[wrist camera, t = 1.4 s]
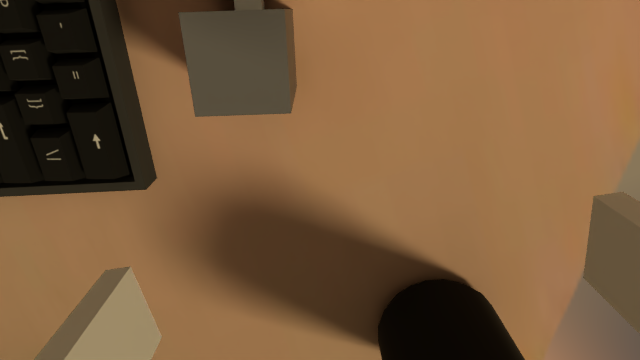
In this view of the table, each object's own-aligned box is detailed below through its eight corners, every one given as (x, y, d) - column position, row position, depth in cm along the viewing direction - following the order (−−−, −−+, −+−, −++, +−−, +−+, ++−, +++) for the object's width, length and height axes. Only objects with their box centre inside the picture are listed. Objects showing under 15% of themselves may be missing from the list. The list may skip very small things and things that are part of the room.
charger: (226, 88, 28) (195, 116, 20) (207, -59, 24) (162, -89, 17) (296, 86, 28) (291, 113, 20) (288, -62, 24) (278, -93, 17)
